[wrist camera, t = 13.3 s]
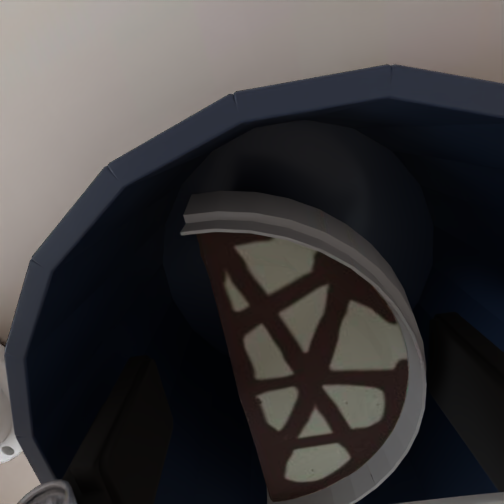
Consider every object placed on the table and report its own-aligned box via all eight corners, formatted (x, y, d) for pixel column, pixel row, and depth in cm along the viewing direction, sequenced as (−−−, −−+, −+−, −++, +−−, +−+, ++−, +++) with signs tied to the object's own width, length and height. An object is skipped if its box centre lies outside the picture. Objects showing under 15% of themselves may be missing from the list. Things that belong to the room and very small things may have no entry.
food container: (363, 343, 21) (448, 523, 11) (266, 358, 21) (270, 541, 12) (341, 140, 16) (448, 155, 7) (222, 165, 17) (173, 211, 8)
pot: (191, 383, 23) (122, 634, 11) (123, 139, 17) (-141, 158, 6) (432, 357, 21) (623, 611, 10) (443, 84, 16) (889, -26, 5)
